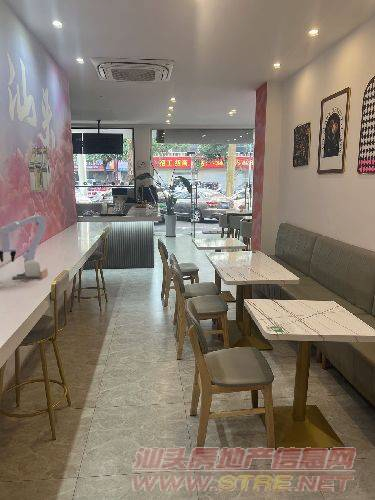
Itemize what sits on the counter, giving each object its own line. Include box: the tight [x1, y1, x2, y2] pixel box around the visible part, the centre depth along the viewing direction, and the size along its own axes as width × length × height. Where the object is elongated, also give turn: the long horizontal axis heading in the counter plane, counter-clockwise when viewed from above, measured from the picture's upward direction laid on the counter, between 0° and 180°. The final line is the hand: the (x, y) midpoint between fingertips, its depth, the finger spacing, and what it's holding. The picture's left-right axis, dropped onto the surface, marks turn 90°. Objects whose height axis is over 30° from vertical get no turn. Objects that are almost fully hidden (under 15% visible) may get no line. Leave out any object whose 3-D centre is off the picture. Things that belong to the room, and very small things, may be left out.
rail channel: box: [12, 268, 48, 280], centre depth 278 cm, size 10×22×5 cm, turn 90°
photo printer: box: [23, 259, 41, 277], centre depth 278 cm, size 10×4×12 cm, turn 103°
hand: (7, 261), depth 284 cm, fingers open, 7 cm apart
